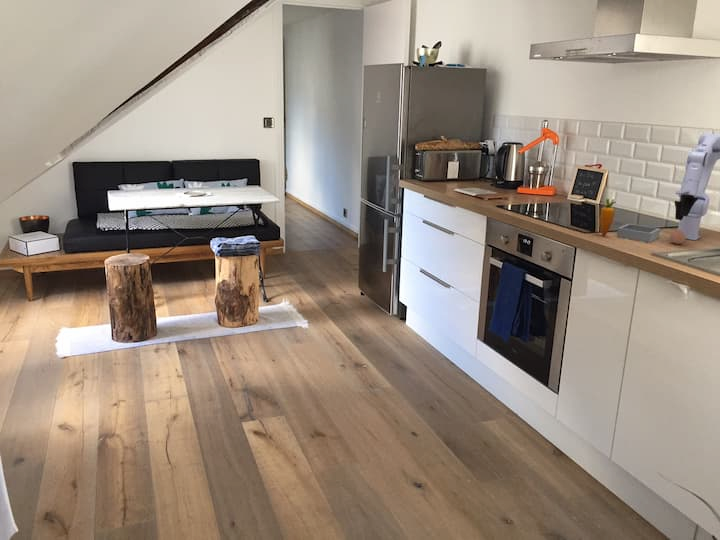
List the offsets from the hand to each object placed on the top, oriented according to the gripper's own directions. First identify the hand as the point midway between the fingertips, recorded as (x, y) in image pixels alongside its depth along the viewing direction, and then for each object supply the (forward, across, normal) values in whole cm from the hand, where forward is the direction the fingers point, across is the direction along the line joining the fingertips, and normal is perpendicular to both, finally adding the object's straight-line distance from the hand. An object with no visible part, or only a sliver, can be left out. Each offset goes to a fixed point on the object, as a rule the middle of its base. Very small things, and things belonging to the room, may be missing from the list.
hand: (681, 217), depth 223 cm
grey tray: (+9, -10, -11) cm, 17 cm away
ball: (+6, -4, +2) cm, 8 cm away
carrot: (+13, -5, -24) cm, 27 cm away
